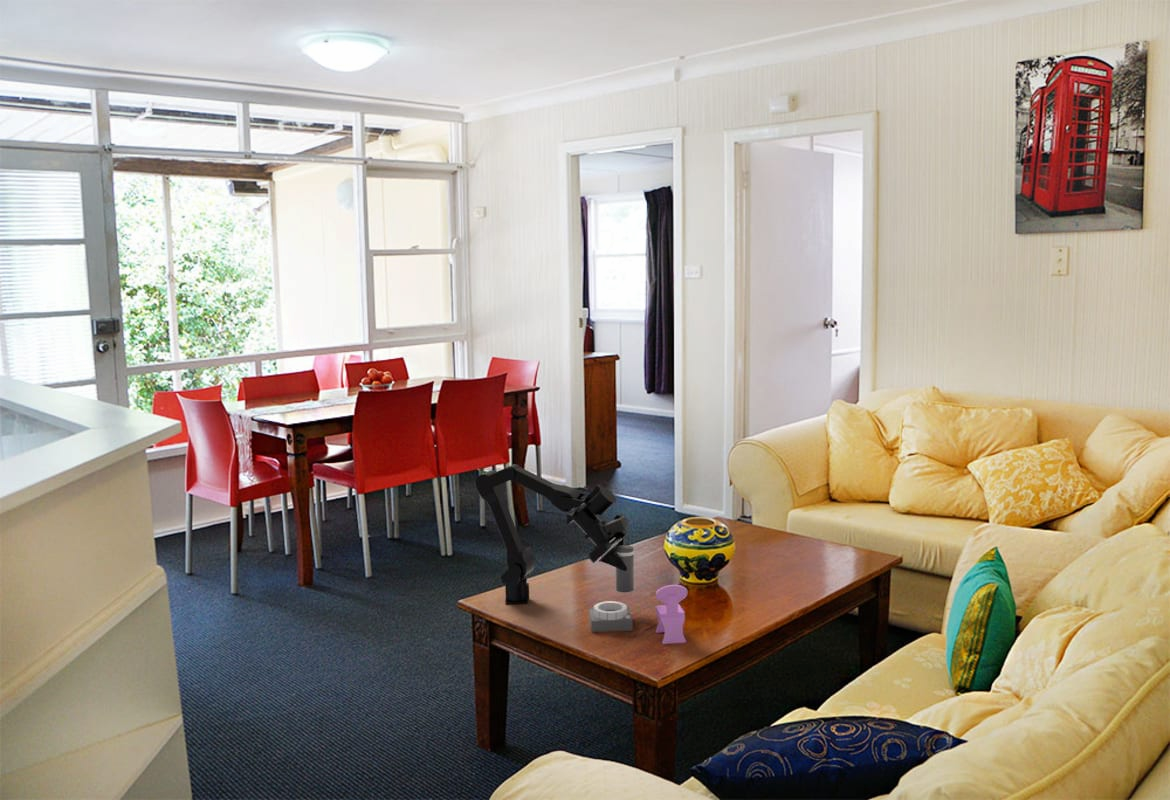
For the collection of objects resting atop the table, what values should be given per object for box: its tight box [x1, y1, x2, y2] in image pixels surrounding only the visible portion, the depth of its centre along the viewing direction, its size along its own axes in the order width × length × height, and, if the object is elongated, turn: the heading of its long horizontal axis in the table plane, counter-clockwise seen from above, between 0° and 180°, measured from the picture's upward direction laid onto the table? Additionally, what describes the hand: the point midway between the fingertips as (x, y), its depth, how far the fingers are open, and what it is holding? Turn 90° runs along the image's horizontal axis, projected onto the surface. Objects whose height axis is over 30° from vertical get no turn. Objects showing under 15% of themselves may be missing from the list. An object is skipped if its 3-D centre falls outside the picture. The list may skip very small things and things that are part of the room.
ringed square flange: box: [588, 600, 634, 633], centre depth 258 cm, size 11×10×5 cm
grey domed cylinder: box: [615, 544, 635, 593], centre depth 266 cm, size 5×5×12 cm
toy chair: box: [654, 584, 688, 645], centre depth 249 cm, size 8×9×15 cm
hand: (629, 567), depth 265 cm, fingers closed on grey domed cylinder, 5 cm apart
